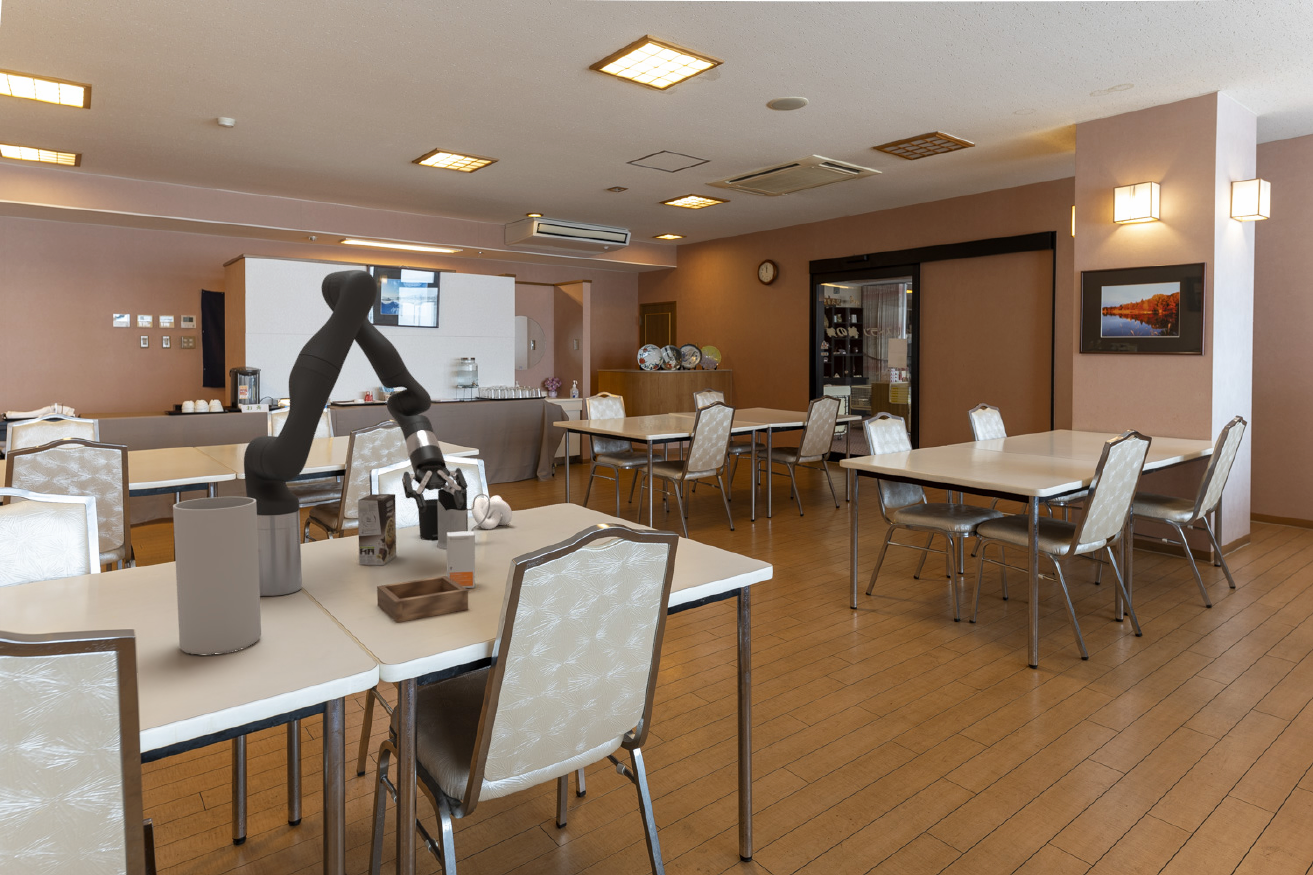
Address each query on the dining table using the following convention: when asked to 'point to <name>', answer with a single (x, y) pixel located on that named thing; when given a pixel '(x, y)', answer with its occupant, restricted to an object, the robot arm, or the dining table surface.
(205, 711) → the dining table surface
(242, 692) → the dining table surface
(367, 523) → the coffee box
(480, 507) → the white knot sculpture
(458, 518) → the glass holder
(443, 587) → the tray
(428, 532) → the black smart speaker
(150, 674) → the dining table surface
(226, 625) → the cylinder vase
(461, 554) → the skincare box
